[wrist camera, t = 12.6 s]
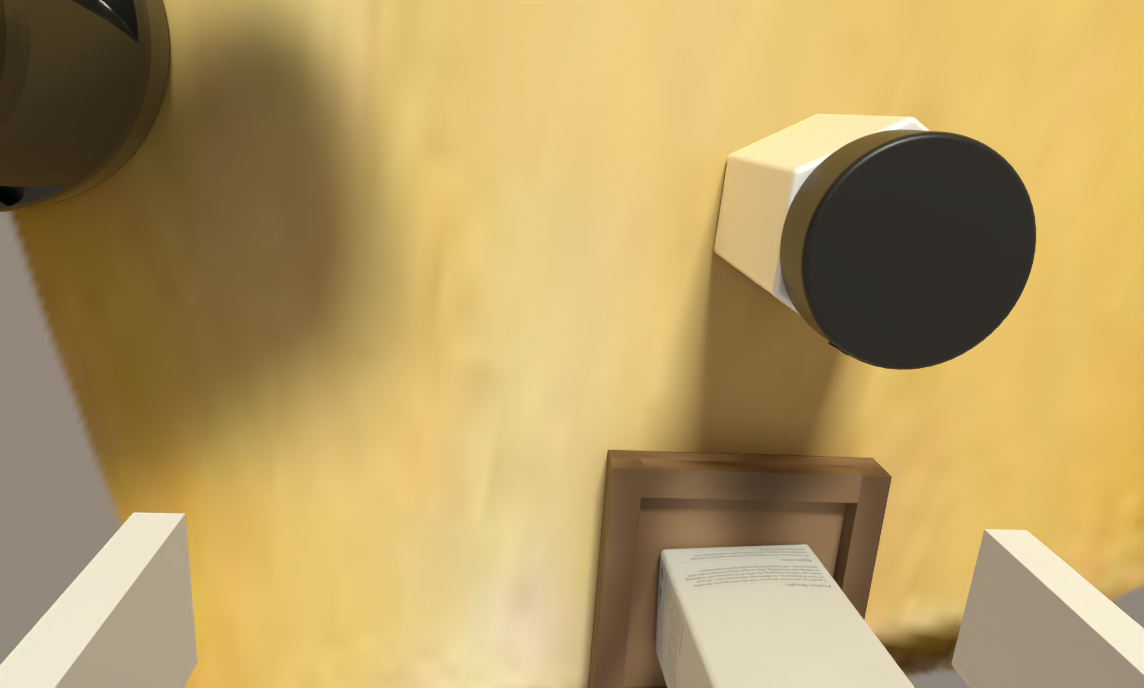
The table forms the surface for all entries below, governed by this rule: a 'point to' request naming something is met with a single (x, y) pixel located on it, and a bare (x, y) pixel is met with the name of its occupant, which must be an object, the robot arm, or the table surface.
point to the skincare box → (763, 623)
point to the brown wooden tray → (720, 534)
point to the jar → (880, 234)
